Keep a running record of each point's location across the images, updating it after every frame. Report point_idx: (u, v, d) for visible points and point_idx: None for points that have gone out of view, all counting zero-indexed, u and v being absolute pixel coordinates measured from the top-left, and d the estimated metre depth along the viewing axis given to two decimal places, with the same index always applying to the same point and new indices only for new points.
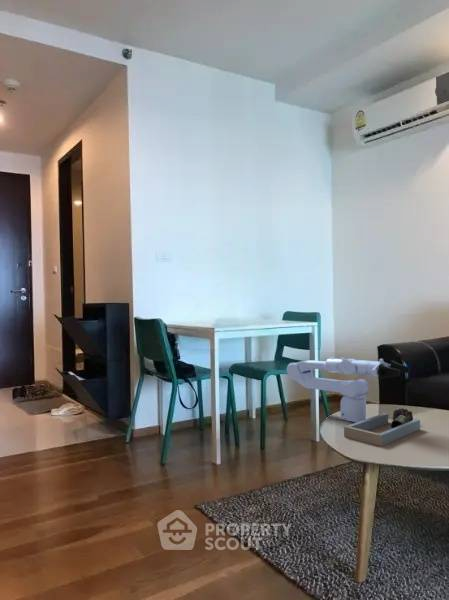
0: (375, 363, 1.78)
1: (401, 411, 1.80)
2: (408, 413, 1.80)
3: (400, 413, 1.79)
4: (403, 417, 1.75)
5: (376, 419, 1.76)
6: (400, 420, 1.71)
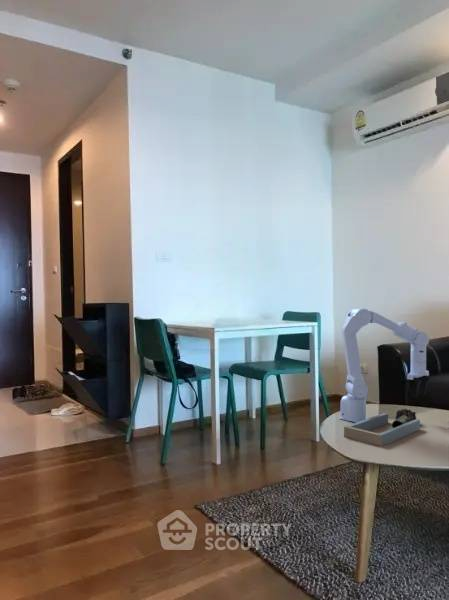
0: (422, 370, 1.84)
1: (404, 411, 1.80)
2: (411, 414, 1.79)
3: (403, 413, 1.79)
4: (405, 417, 1.74)
5: (376, 419, 1.76)
6: (401, 420, 1.71)
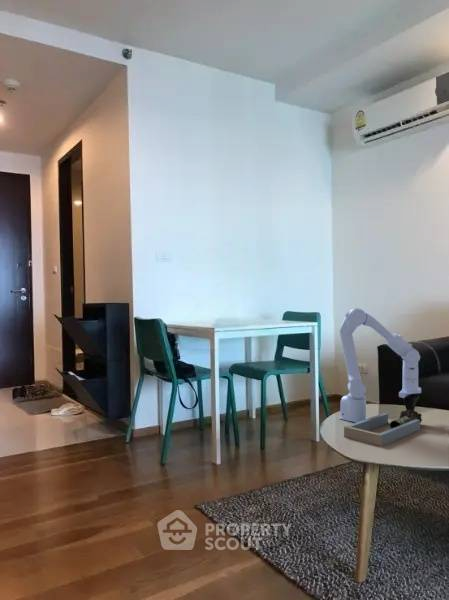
0: (414, 388, 1.80)
1: (407, 412, 1.77)
2: (414, 415, 1.76)
3: (406, 414, 1.77)
4: (405, 418, 1.72)
5: (376, 419, 1.76)
6: (399, 421, 1.69)
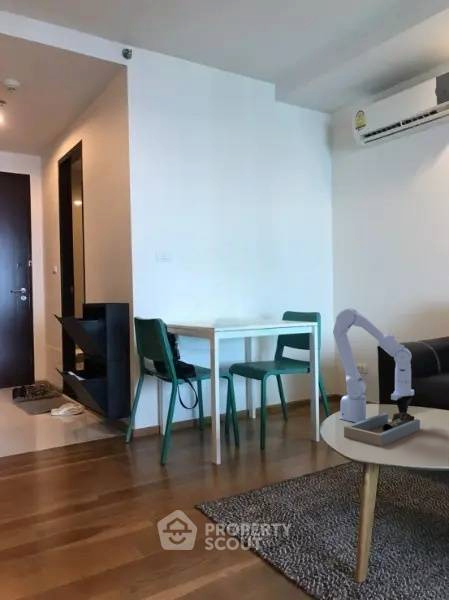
0: (406, 390, 1.76)
1: (400, 415, 1.74)
2: (407, 417, 1.73)
3: (398, 417, 1.73)
4: (398, 421, 1.69)
5: (376, 419, 1.76)
6: (392, 424, 1.66)
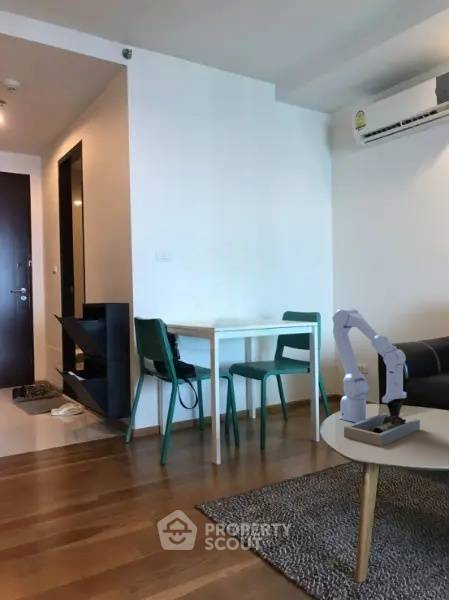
0: (398, 392, 1.72)
1: (391, 418, 1.69)
2: (398, 421, 1.68)
3: (389, 420, 1.68)
4: (389, 425, 1.64)
5: (376, 419, 1.76)
6: (382, 427, 1.61)
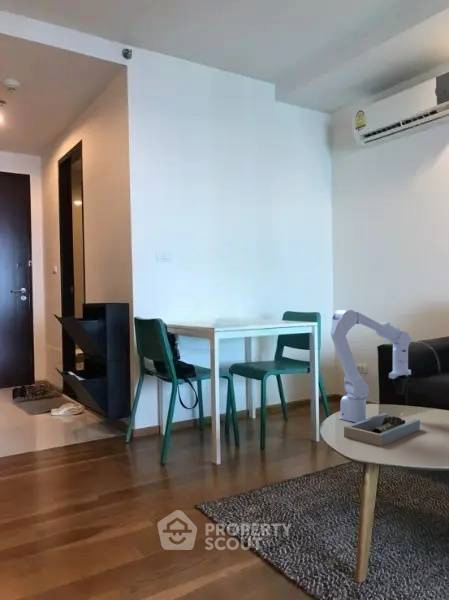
0: (404, 369, 1.87)
1: (390, 419, 1.69)
2: (398, 422, 1.68)
3: (388, 421, 1.68)
4: (388, 425, 1.64)
5: (376, 419, 1.76)
6: (381, 428, 1.61)
